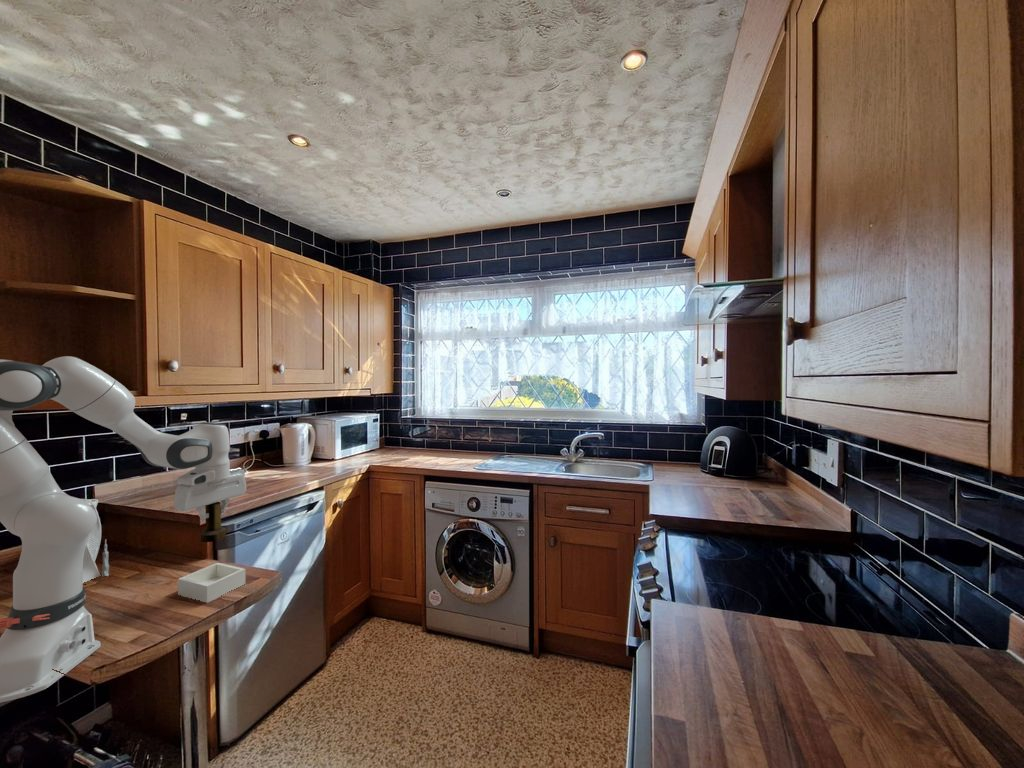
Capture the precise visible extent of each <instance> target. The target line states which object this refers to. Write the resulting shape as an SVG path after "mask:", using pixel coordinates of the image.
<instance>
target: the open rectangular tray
mask: <svg viewBox="0 0 1024 768" xmlns="http://www.w3.org/2000/svg"><path fill="white" fill-rule="evenodd" d="M244 584H245V585H246V568H243V567H239V566H234V565H230V564H226V563H221V562H216V563H213V564H210V565H208V566H206V567H203V568H201V569H199V570H196V571H193V572H191V573H189V574H186V575H183V576H182V577H179V578H178V579H177V595H178V596H180V595H181V596H180V597H184V598H187V597H188V599H191V598H192V600H195V599H196V601H198V600H200V601H199V602H203V603H205V602H206V604H207V603H210V602H213V601H214V600H216V599H218V598H220V597H222V596H224V595H226V594H228V593H230V592H232V591H234V589H235V590H236V588H237V589H239V588H240V586H241V587H242V585H243V586H245V585H244ZM238 587H239V588H238ZM231 590H232V591H231ZM229 591H230V592H229ZM227 592H228V593H227ZM225 593H226V594H225ZM223 594H224V595H223ZM221 595H222V596H221Z"/></svg>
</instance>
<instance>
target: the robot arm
mask: <svg viewBox="0 0 1024 768" xmlns="http://www.w3.org/2000/svg"><path fill="white" fill-rule="evenodd" d="M48 400H52V401H54V402H56V403H59V404H60V405H62V406H64V407H65V408H66V409H67V410H70V411H71V412H72V413H75V414H76V415H78V416H80V417H82V418H84V419H85V420H88V421H90V422H92V423H94V424H97V425H100V426H101V427H104V428H107V429H110V431H112V432H114V433H115V434H116V435H118V436H120V437H121V438H123V439H124V440H126V442H128V443H130V444H132V445H133V446H134V447H136V449H137V451H138V452H139V454H140V455H141V457H142V459H143V460H144V461H145V462H146V463H147V464H149V465H150V466H153V467H161V468H169V469H176V470H184V469H190V468H193V467H194V468H193V469H192V470H190V471H188V472H186V473H184V474H182V475H180V476H177V478H176V484H178V486H177V487H176V488H175V493H174V498H173V499H174V502H173V503H174V504H173V506H174V509H176V510H177V511H179V512H187V511H190V510H191V511H192V510H194V509H195V510H196V512H198V514H199V517H200V520H201V521H204V520H205V521H206V519H208V518H209V513H206V510H205V505H209V504H212V503H216V502H221V515H225V514H226V508H227V507H228V506H229V503H230V499H233V498H235V497H240V496H243V495H245V494H246V492H247V482H246V475H245V474H246V473H245V470H244V469H243V468H241V467H235V468H231V466H230V465H231V463H230V458H229V452H230V449H231V445H230V434H229V433H230V432H229V429H228V427H227V426H226V424H224V423H223V424H222V423H217V422H215V423H214V422H199V423H198V424H197V425H196V426H195V427H193V428H192V429H190V430H188V431H186V432H184V433H182V434H178V435H177V434H176V435H175V434H172V433H166V432H161V431H158V430H157V429H155V428H154V427H153V426H151V425H150V424H148V422H145V420H143V419H142V418H140V417H139V416H138V415H137V413H135V412H134V410H135V406H136V398H135V396H134V395H133V393H132V392H131V391H130V390H129V389H128V388H126V386H125V385H123V384H122V383H121V382H119V381H118V380H117V379H115V378H113V377H112V376H111V375H109V374H108V373H106V372H104V371H103V370H102V369H100V368H98V367H96V366H95V365H92V364H90V363H89V362H87V361H85V360H83V359H81V358H79V357H76V356H71V355H70V356H69V355H68V356H67V355H65V356H59V357H55V358H53V359H51V360H48V361H46V362H45V363H44V364H42V365H39V364H35V363H30V362H24V361H17V360H16V361H15V360H11V359H3V358H2V359H0V523H1V524H2V525H3V527H5V529H6V530H7V531H8V532H10V533H11V535H14V536H17V537H19V538H20V540H21V545H22V546H21V553H20V557H19V559H18V560H19V561H18V563H17V566H16V568H15V569H14V571H13V574H12V606H11V607H10V609H9V611H8V614H7V617H5V618H4V617H3V618H0V629H4V628H5V630H4V632H3V633H2V634H1V636H0V703H6V702H9V701H14V700H17V699H22V698H25V697H27V696H28V697H29V696H31V695H34V694H36V693H39V692H41V691H44V690H46V689H47V688H49V687H50V686H52V685H53V684H54V683H56V682H57V681H59V680H60V679H61V678H62V677H64V676H65V675H66V674H68V673H69V672H70V671H71V670H72V669H74V668H75V667H76V666H78V665H79V664H80V663H82V662H83V661H85V660H86V658H88V657H89V656H91V655H92V654H93V653H94V652H96V651H97V650H98V649H99V648H101V647H102V645H101V641H100V640H97V639H95V633H94V623H93V616H92V613H90V612H89V610H87V608H86V607H85V606H84V605H85V604H86V598H87V593H86V588H85V587H84V585H83V557H84V552H85V548H86V544H87V541H88V537H89V534H90V533H91V531H92V530H93V529H94V527H95V525H96V522H97V515H96V512H95V511H94V509H93V508H92V507H91V506H90V505H89V504H88V503H87V502H86V501H84V500H82V499H83V498H78V497H75V496H71V495H69V494H67V493H66V492H65V491H64V490H62V489H61V487H60V486H59V484H58V483H57V482H56V479H55V478H54V477H53V475H52V473H51V471H50V466H49V465H48V462H46V461H45V459H44V458H42V456H41V455H40V453H38V451H37V450H36V449H35V448H34V447H33V445H32V444H31V443H30V442H29V441H28V439H27V438H26V437H25V436H24V435H23V434H22V432H21V431H19V429H18V428H17V427H16V426H15V423H14V421H13V412H14V411H18V410H19V411H20V410H24V409H28V408H32V407H35V406H36V405H38V404H41V403H43V402H45V401H48ZM230 468H231V469H230ZM52 669H54V670H57V671H60V672H61V673H64V674H65V675H64V674H61V673H59V672H56V671H54V670H52Z"/></svg>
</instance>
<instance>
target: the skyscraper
mask: <svg viewBox="0 0 1024 768" xmlns="http://www.w3.org/2000/svg"><path fill="white" fill-rule="evenodd" d="M81 499H82V500H84V501H86V502H87V503H88V504H89V505H90V506H91V507H92V508H93V509H94V511H95V512H96V515H97V522H96V525H95V527H94V529H93V530H92V531H91V533H90V534H89V537H88V541H87V544H86V548H85V552H84V557H83V583H84V582H87V581H90V580H91V579H94V578H96V577H99V576H101V575H100V571H99V568H98V566H97V564H96V559H97V556H98V554H99V550H100V545H101V542H102V541H101V540H102V524H101V517H100V516H99V512H98V510H97V506H98V504H99V500H98V498H97V499H96V498H91V499H90V498H89V499H88V498H87V499H86V498H81ZM109 573H110V563H109V551H108V544H107V539H104V545H103V552H102V565H101V574H102V577H104V576H107V577H109V575H110V576H111V574H109Z"/></svg>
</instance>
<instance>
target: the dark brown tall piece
mask: <svg viewBox="0 0 1024 768" xmlns="http://www.w3.org/2000/svg"><path fill="white" fill-rule="evenodd" d="M221 504H222V502H221V501H219V502H216V503H212V504H209V505H205V509H204V511H205V513H209V518H208V519H205V529H204V530H202V532H201V533H200V542H201V543H210V542H211V543H212V542H213V543H214V542H216V541H220V540H222V539H224V538H226V536H227V529H226V527H224V526H222V514H221Z"/></svg>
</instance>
